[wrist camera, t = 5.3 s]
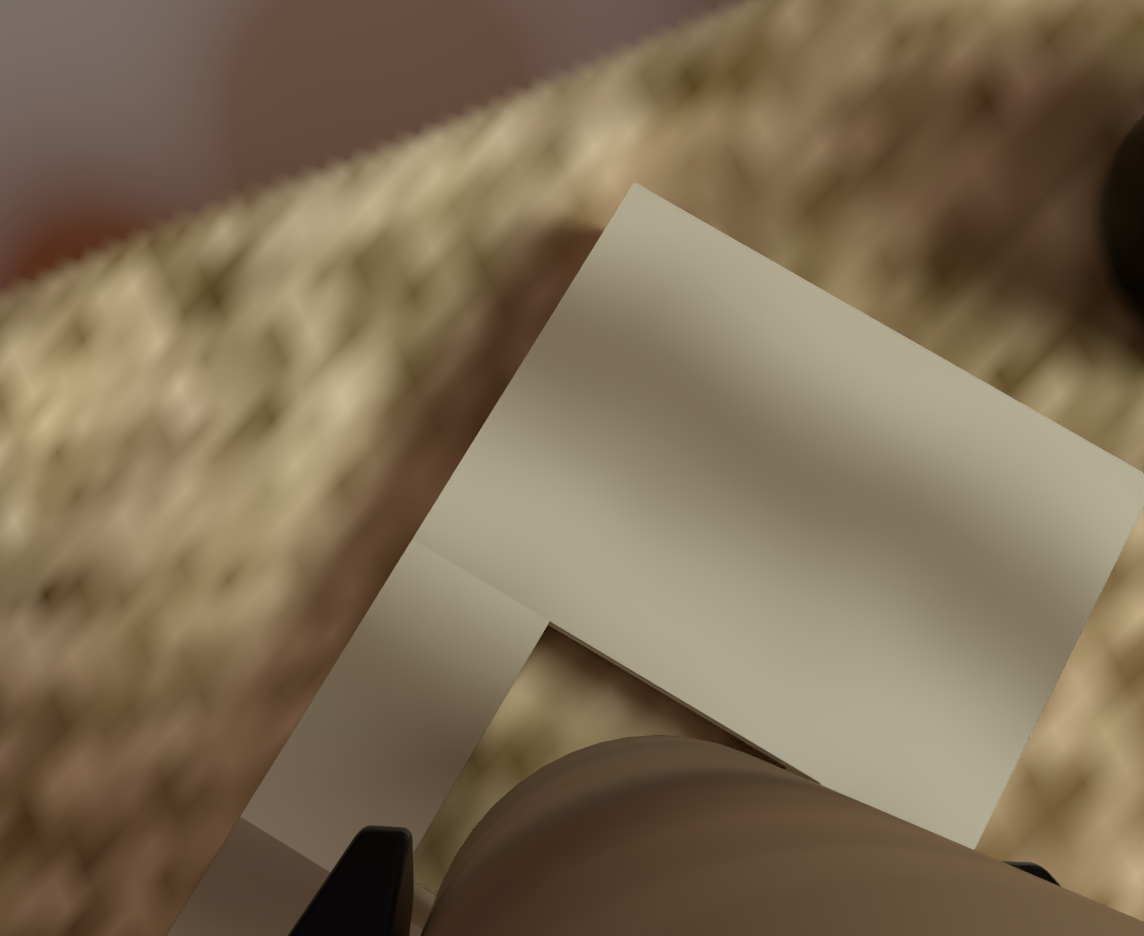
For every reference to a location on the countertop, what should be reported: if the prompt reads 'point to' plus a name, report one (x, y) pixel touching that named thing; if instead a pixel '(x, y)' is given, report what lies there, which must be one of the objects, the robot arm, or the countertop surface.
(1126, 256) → the supplement bottle
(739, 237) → the countertop surface
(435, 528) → the board
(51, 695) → the countertop surface
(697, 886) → the walnut peg
